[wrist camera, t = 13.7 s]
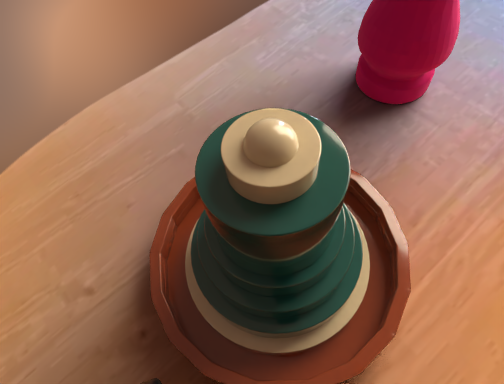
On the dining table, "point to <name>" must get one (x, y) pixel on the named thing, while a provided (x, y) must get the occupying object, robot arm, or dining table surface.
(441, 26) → the pepper mill
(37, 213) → the dining table surface
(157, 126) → the dining table surface
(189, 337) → the tagine base
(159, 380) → the robot arm
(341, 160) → the tagine lid
